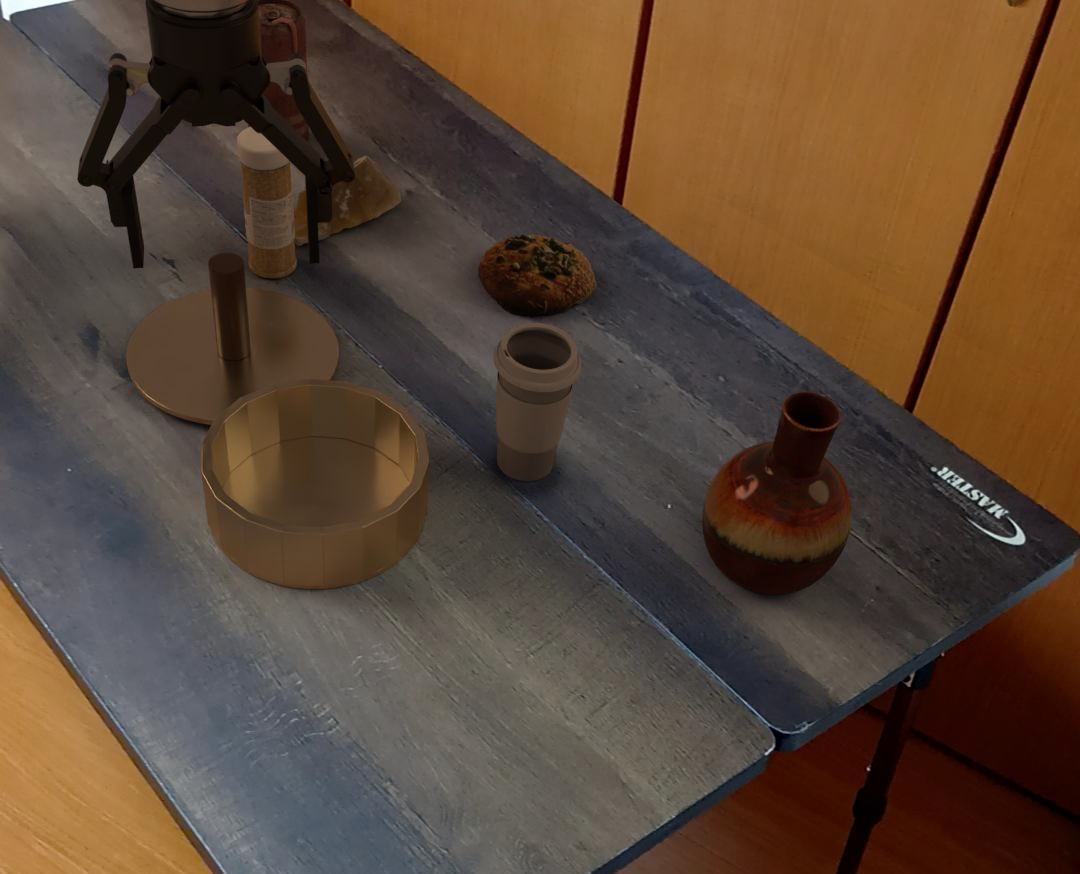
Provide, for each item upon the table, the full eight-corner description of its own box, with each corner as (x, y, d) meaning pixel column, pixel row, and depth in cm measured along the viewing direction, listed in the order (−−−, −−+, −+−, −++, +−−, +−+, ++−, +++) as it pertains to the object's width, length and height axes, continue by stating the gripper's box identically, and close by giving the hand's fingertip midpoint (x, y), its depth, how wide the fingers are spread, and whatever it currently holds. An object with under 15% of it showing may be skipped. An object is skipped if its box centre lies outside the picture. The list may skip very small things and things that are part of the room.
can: (284, 164, 134) (278, 32, 124) (237, 141, 136) (227, 10, 126) (323, 140, 138) (320, 11, 128) (276, 119, 140) (269, -11, 130)
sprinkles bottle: (254, 249, 124) (243, 119, 114) (303, 255, 124) (295, 126, 114) (242, 277, 121) (230, 146, 111) (291, 284, 121) (283, 154, 111)
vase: (688, 598, 100) (730, 450, 89) (696, 496, 107) (736, 348, 96) (833, 623, 100) (894, 478, 88) (831, 519, 107) (887, 373, 96)
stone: (398, 214, 135) (294, 280, 126) (358, 164, 134) (251, 227, 126) (428, 178, 129) (321, 245, 120) (386, 125, 128) (276, 188, 120)
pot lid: (123, 436, 106) (105, 335, 98) (131, 300, 117) (115, 201, 110) (346, 426, 109) (345, 328, 102) (332, 295, 121) (330, 199, 113)
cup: (472, 440, 109) (481, 325, 101) (547, 426, 111) (562, 312, 103) (501, 499, 105) (513, 384, 96) (578, 483, 107) (597, 369, 98)
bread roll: (476, 314, 120) (482, 264, 117) (475, 257, 129) (481, 209, 126) (596, 325, 122) (605, 277, 118) (587, 268, 130) (596, 221, 127)
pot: (208, 598, 95) (201, 542, 91) (207, 438, 106) (201, 382, 102) (437, 583, 98) (440, 528, 94) (413, 429, 110) (415, 374, 105)
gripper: (2, 19, 85) (60, 289, 100) (390, 21, 89) (388, 279, 105) (13, -33, 90) (66, 232, 105) (380, -28, 94) (380, 225, 110)
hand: (227, 256), depth 105 cm, fingers open, 13 cm apart
